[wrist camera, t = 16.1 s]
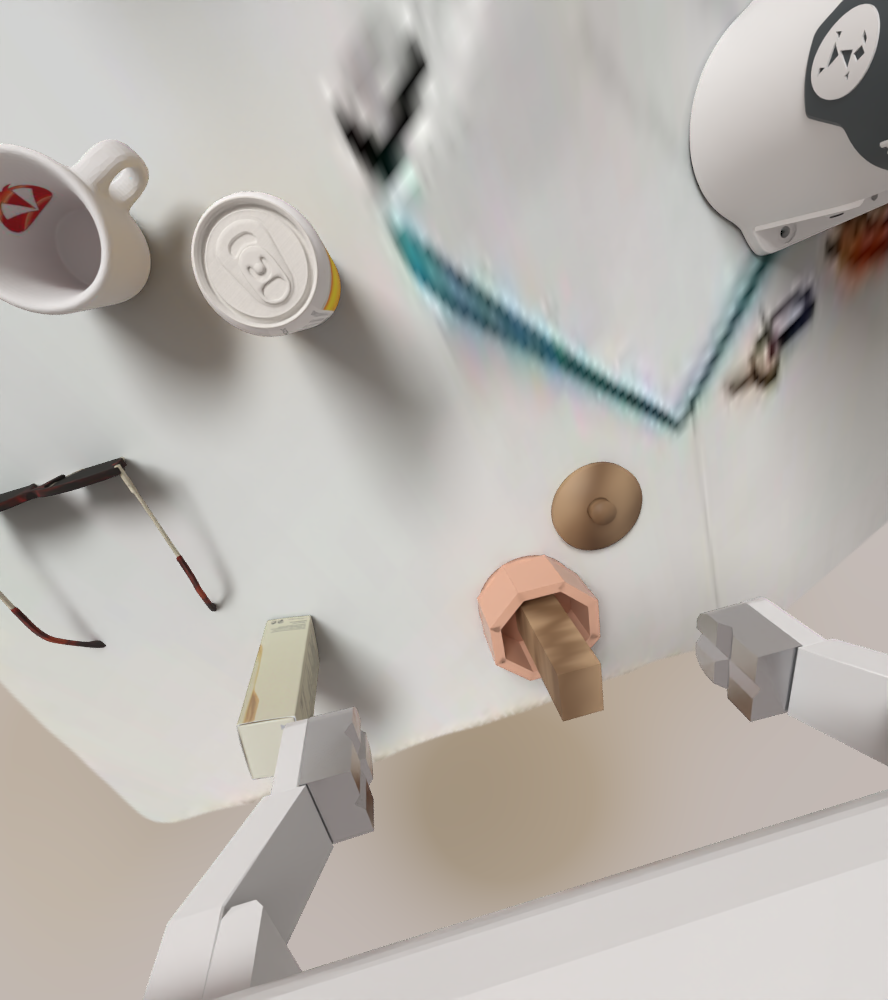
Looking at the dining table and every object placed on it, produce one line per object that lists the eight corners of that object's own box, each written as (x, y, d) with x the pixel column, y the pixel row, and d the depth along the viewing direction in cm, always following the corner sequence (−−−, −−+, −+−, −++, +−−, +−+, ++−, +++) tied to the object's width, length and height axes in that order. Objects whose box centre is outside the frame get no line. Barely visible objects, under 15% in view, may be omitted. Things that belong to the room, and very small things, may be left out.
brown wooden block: (544, 581, 47) (600, 663, 36) (549, 620, 49) (603, 709, 38) (511, 589, 46) (557, 675, 35) (517, 628, 48) (563, 721, 37)
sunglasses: (143, 445, 37) (114, 468, 33) (235, 596, 44) (222, 631, 40) (-28, 497, 36) (-81, 527, 32) (94, 642, 44) (64, 683, 39)
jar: (571, 544, 47) (596, 572, 42) (578, 627, 51) (602, 661, 46) (470, 569, 46) (484, 601, 41) (486, 651, 50) (500, 689, 45)
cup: (108, 117, 29) (23, 51, 22) (217, 224, 32) (174, 198, 25) (10, 247, 31) (-100, 227, 23) (123, 338, 34) (56, 345, 26)
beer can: (304, 219, 33) (262, 151, 19) (357, 297, 35) (354, 287, 21) (237, 271, 33) (149, 241, 20) (294, 344, 36) (251, 364, 22)
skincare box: (265, 618, 44) (232, 722, 33) (312, 613, 45) (295, 712, 34) (277, 671, 47) (249, 783, 35) (320, 665, 47) (307, 774, 36)
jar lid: (633, 450, 44) (647, 457, 42) (637, 531, 48) (650, 541, 46) (544, 474, 44) (554, 483, 41) (555, 554, 47) (565, 566, 45)
